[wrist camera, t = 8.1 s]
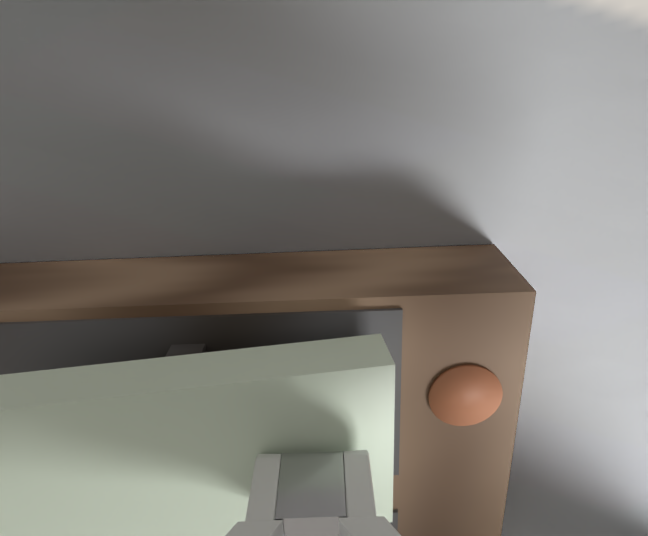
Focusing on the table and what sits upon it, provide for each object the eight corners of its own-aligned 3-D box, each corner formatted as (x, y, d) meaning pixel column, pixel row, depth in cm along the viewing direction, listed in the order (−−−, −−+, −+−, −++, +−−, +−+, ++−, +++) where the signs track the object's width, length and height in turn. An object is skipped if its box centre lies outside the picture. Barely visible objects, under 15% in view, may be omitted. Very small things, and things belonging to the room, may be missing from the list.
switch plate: (493, 244, 14) (555, 313, 10) (463, 540, 18) (498, 660, 15) (-64, 265, 14) (-203, 339, 10) (48, 550, 19) (-20, 670, 15)
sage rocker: (380, 333, 11) (394, 364, 10) (380, 481, 12) (392, 521, 11) (-58, 381, 10) (-97, 421, 9) (8, 533, 12) (-17, 583, 10)
